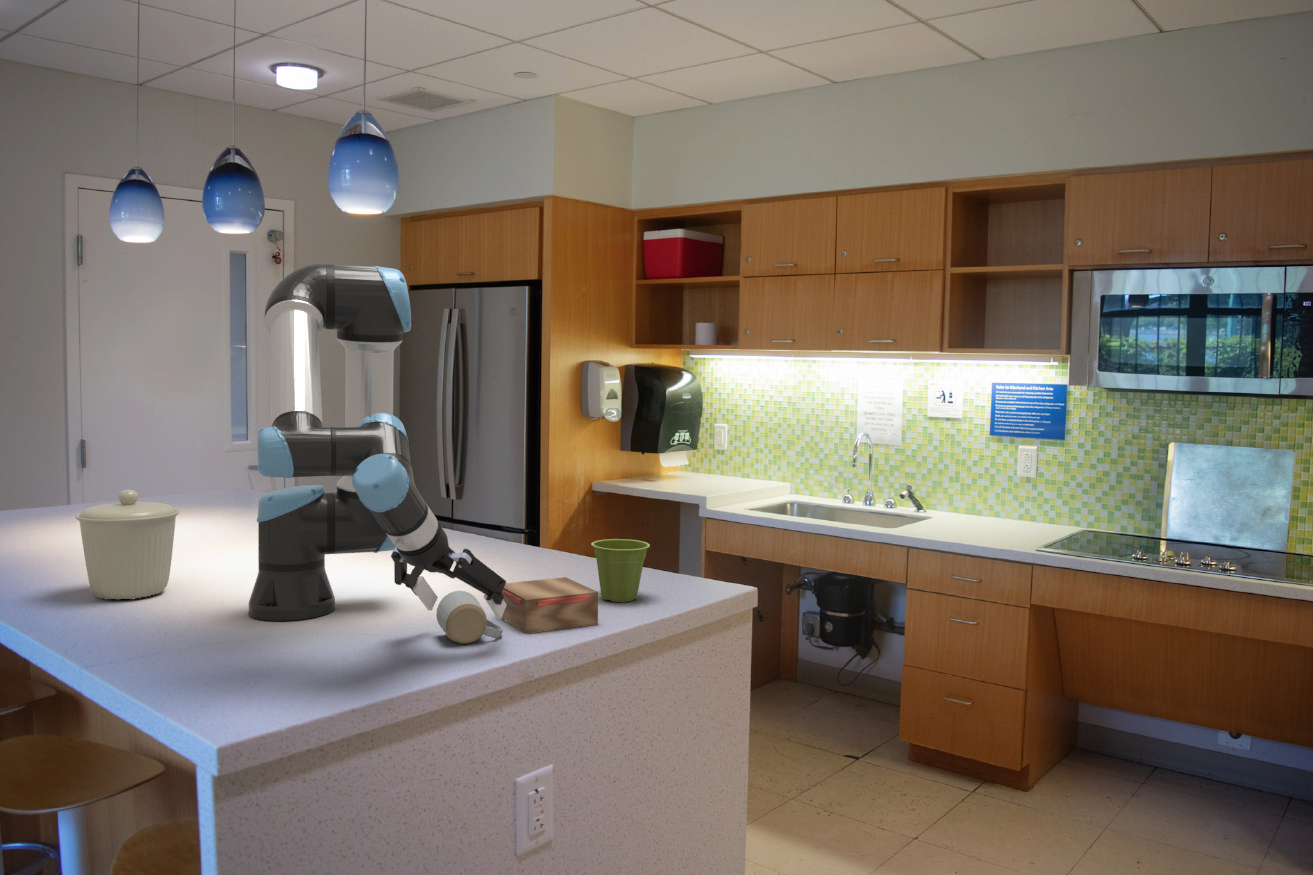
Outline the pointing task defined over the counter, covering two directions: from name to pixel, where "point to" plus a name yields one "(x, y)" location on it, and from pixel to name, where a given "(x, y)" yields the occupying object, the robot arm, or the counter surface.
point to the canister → (128, 546)
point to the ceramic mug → (465, 618)
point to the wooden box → (549, 605)
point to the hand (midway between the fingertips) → (467, 607)
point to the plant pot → (619, 567)
